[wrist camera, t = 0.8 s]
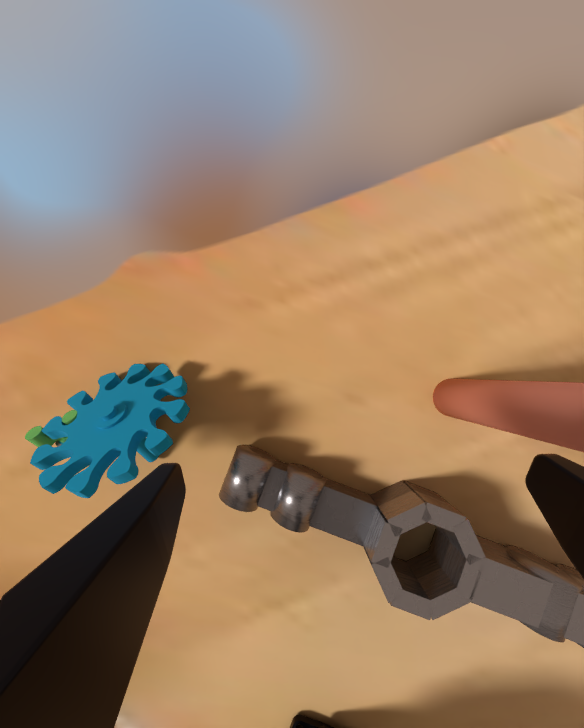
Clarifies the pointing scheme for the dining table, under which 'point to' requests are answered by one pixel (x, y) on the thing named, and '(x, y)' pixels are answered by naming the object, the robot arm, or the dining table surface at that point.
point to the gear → (108, 430)
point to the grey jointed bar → (427, 571)
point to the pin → (518, 407)
